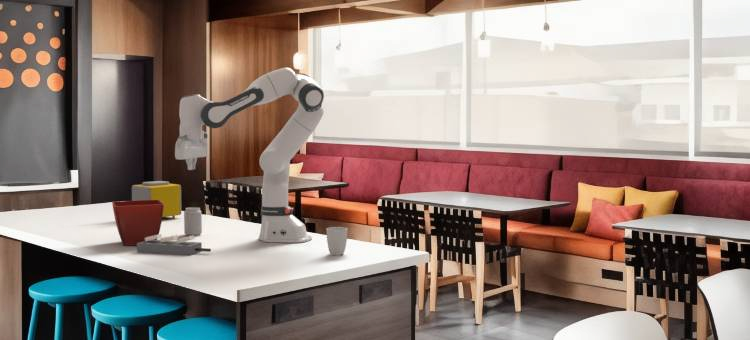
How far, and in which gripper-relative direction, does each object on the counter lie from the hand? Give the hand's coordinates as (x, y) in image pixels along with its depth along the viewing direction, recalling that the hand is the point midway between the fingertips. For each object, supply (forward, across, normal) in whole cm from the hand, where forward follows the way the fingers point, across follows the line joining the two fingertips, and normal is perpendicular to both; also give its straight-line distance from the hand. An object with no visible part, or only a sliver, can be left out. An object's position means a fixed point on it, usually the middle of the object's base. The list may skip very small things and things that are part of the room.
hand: (191, 169), depth 342 cm
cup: (+31, +1, -61) cm, 69 cm away
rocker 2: (+26, -13, +3) cm, 29 cm away
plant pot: (+31, +2, +26) cm, 41 cm away
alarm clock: (+31, +70, +58) cm, 96 cm away
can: (+31, +28, +15) cm, 45 cm away
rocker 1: (+26, -13, +10) cm, 31 cm away
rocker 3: (+26, -13, -4) cm, 29 cm away
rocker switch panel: (+31, -13, 0) cm, 34 cm away
